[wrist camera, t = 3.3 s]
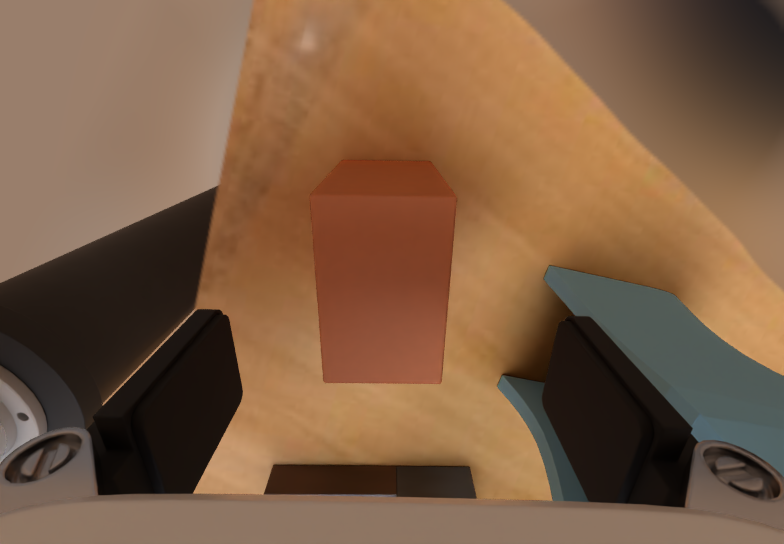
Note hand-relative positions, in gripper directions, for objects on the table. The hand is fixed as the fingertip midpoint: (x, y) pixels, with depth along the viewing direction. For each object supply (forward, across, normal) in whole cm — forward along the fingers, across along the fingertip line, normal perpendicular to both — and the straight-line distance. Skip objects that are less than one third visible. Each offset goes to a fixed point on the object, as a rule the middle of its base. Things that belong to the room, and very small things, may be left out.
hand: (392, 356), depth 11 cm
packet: (+13, 0, 0) cm, 13 cm away
